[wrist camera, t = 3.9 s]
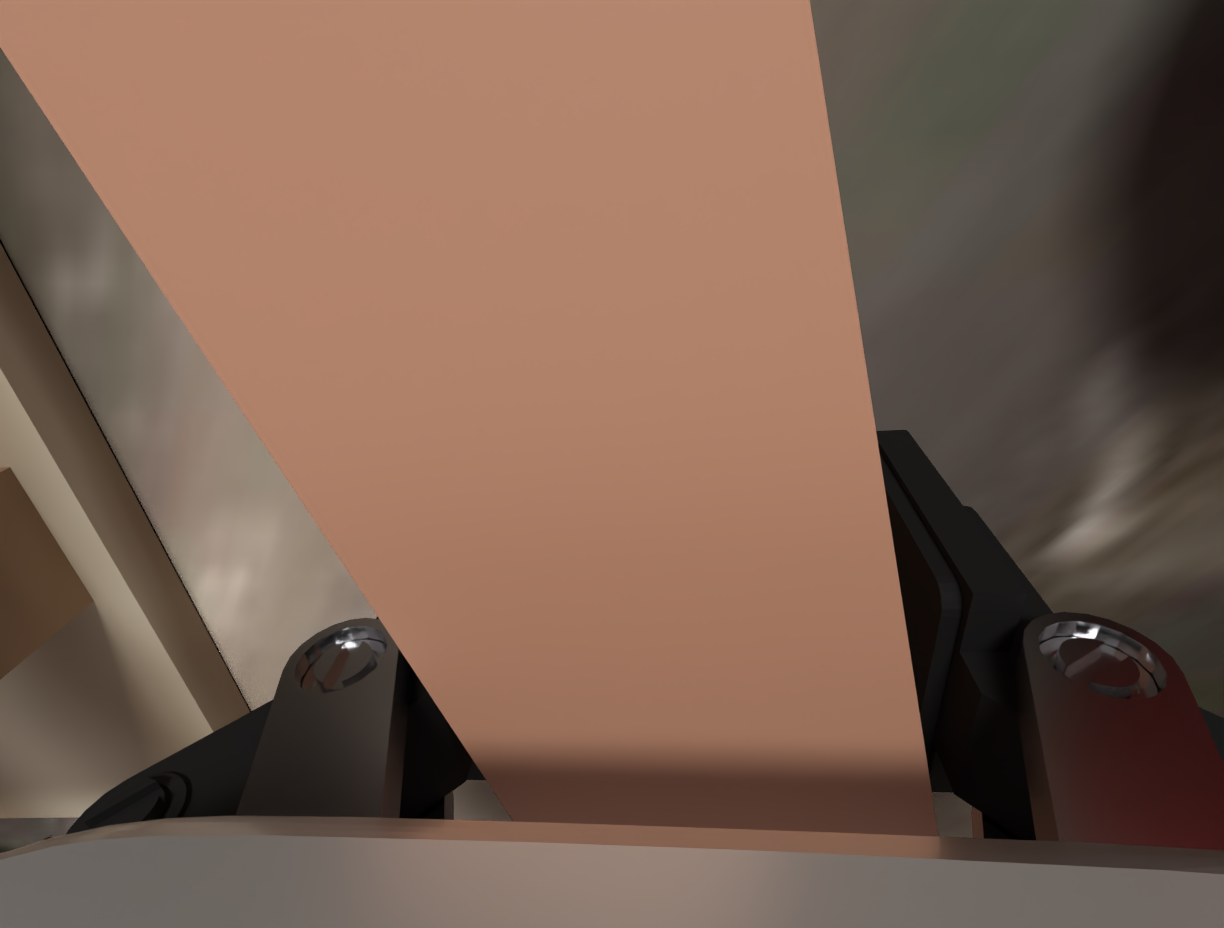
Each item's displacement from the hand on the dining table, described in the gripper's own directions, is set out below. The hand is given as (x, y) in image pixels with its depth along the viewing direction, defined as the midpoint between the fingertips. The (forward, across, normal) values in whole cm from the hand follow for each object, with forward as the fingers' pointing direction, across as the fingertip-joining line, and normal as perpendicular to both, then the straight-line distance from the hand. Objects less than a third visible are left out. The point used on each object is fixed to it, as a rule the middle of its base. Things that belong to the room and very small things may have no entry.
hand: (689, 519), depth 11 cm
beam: (+1, 0, 0) cm, 1 cm away
